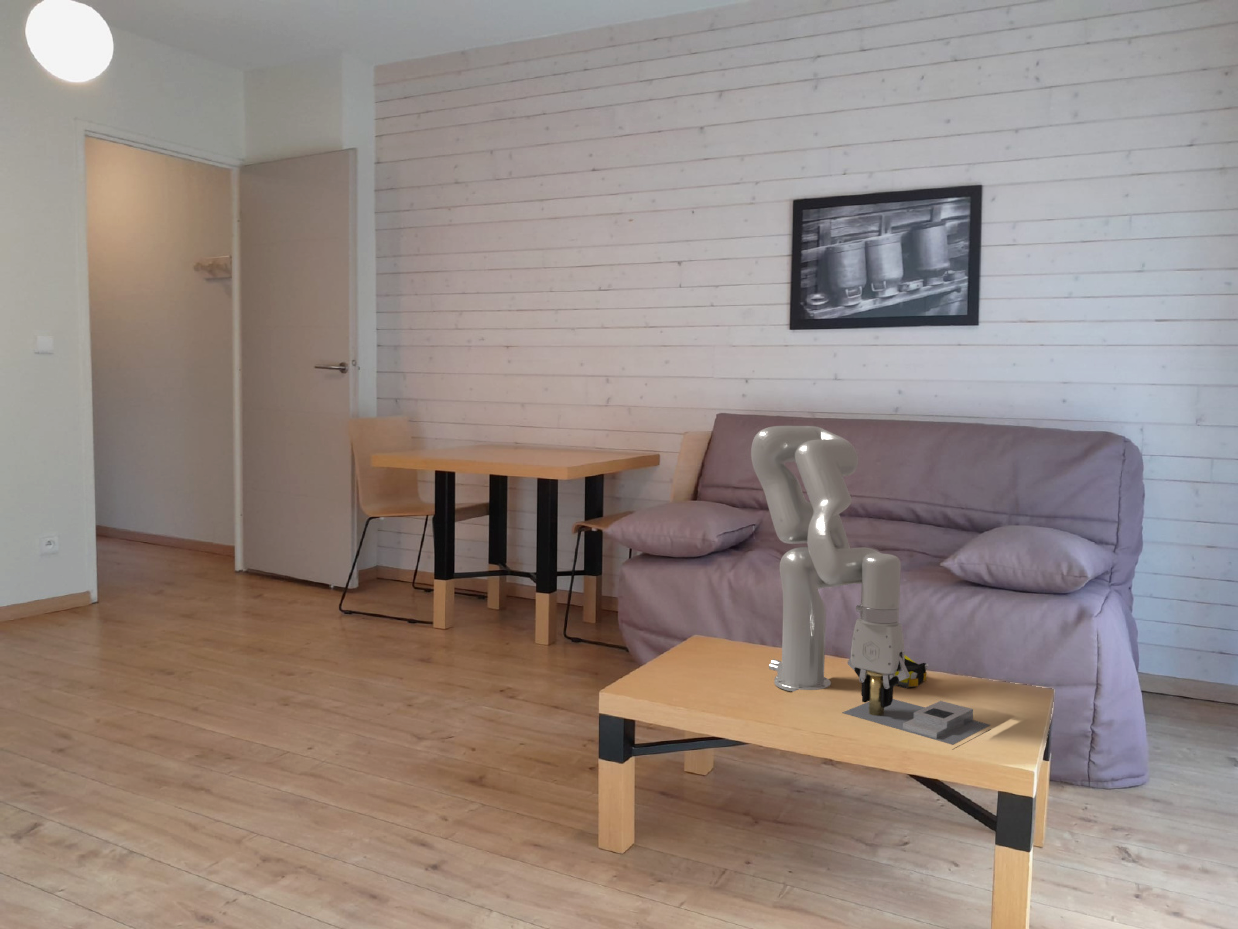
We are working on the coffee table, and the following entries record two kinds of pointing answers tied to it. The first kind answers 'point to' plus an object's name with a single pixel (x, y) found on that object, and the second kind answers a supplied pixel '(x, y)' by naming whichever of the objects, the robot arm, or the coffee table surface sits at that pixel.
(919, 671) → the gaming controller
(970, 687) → the coffee table surface
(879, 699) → the pin
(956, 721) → the grey slotted housing block
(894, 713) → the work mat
